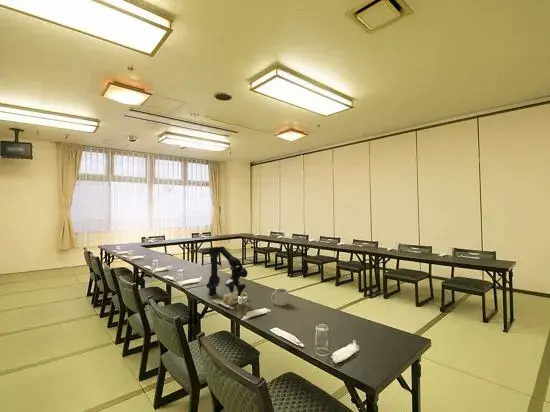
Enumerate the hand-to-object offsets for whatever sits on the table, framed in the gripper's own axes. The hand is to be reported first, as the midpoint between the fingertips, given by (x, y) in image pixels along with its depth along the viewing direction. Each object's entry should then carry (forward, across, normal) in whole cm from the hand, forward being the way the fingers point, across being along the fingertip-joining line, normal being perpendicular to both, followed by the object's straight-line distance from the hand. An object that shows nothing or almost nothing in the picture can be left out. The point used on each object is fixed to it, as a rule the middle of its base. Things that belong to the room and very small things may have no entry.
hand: (235, 295), depth 213 cm
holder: (+4, 0, 0) cm, 4 cm away
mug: (+4, +29, +20) cm, 35 cm away
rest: (+4, -11, +6) cm, 13 cm away
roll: (0, 0, 0) cm, 0 cm away
